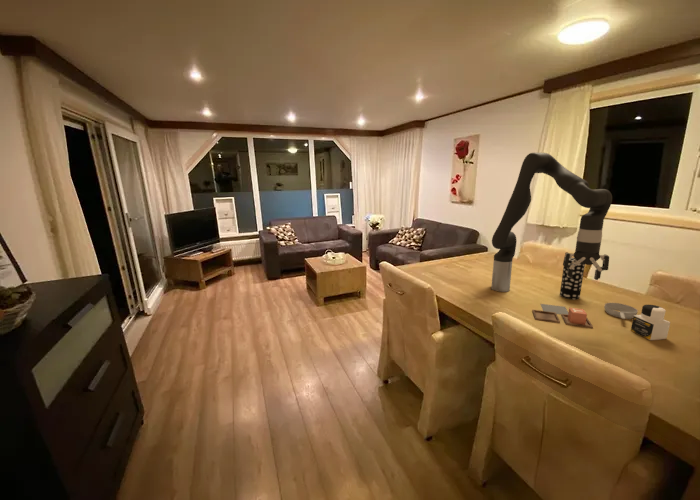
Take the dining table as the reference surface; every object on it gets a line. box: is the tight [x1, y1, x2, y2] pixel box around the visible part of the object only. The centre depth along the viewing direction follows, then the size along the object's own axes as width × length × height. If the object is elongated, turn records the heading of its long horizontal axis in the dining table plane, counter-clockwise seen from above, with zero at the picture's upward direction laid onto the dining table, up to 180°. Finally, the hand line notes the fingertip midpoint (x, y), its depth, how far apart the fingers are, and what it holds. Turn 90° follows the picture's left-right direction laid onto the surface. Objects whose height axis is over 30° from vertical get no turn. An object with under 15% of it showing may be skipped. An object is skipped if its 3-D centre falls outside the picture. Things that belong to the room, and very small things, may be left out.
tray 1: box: [531, 309, 561, 324], centre depth 127 cm, size 9×9×1 cm
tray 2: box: [560, 314, 594, 329], centre depth 121 cm, size 9×9×1 cm
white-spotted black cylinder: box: [559, 257, 586, 301], centre depth 145 cm, size 8×8×20 cm
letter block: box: [568, 307, 588, 325], centre depth 121 cm, size 5×5×5 cm
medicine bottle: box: [630, 304, 671, 341], centre depth 109 cm, size 7×7×12 cm
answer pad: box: [540, 303, 569, 315], centre depth 133 cm, size 10×10×1 cm
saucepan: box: [604, 302, 639, 320], centre depth 123 cm, size 11×18×4 cm, turn 141°
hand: (582, 278), depth 117 cm, fingers open, 8 cm apart
